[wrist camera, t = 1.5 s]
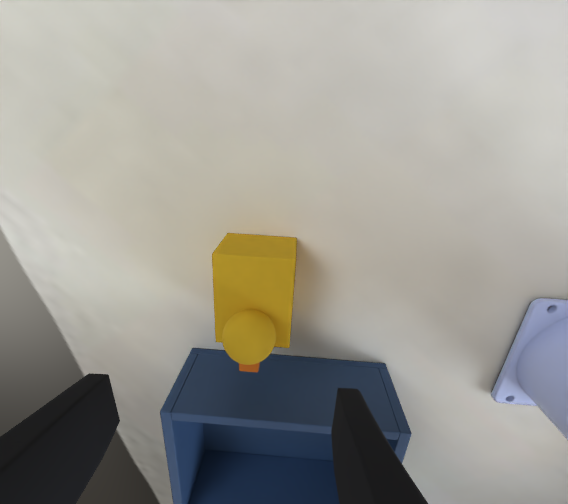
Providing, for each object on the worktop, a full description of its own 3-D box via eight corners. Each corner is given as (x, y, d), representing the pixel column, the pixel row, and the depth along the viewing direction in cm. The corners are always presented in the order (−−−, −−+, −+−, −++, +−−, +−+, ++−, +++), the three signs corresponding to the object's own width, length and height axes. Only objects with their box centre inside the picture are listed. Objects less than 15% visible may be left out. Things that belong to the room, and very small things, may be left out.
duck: (296, 237, 17) (295, 282, 11) (290, 323, 19) (286, 393, 14) (227, 232, 17) (195, 275, 12) (229, 318, 19) (202, 386, 14)
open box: (385, 363, 20) (412, 433, 15) (361, 461, 23) (377, 542, 19) (192, 347, 20) (159, 411, 15) (200, 447, 24) (175, 523, 19)
